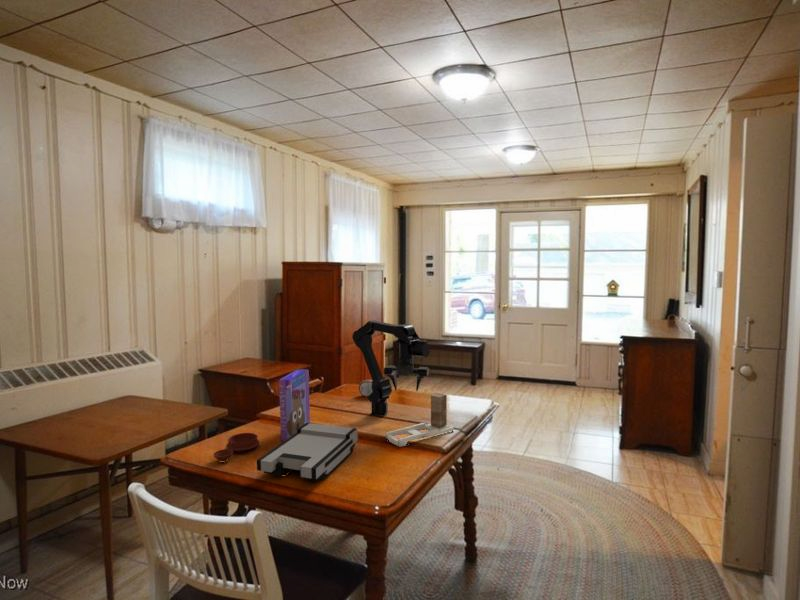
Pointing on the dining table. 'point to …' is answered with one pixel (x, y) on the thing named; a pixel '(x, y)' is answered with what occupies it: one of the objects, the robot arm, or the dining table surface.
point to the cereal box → (294, 402)
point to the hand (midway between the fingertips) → (406, 390)
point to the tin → (365, 387)
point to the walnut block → (438, 410)
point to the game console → (310, 451)
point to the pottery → (237, 445)
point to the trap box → (416, 433)
